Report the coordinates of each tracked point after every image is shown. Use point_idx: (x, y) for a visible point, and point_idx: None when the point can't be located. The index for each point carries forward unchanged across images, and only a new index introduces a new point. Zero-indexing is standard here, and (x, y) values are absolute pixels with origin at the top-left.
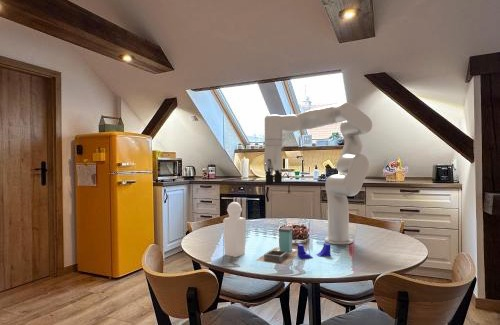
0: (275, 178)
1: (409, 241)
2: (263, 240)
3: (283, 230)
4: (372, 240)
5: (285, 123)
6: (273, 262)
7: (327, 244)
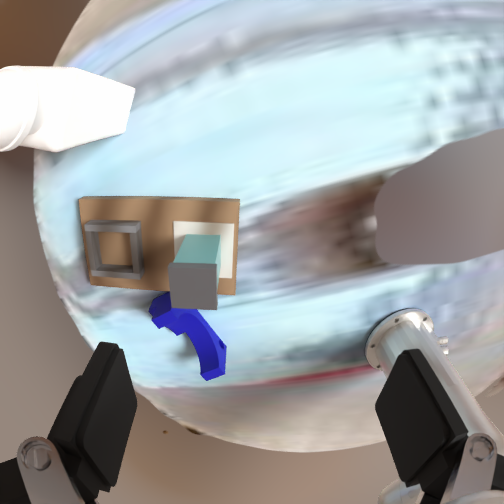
0: (416, 403)
1: None
2: (374, 109)
3: (170, 283)
4: None
5: None
6: (85, 251)
7: (206, 375)
